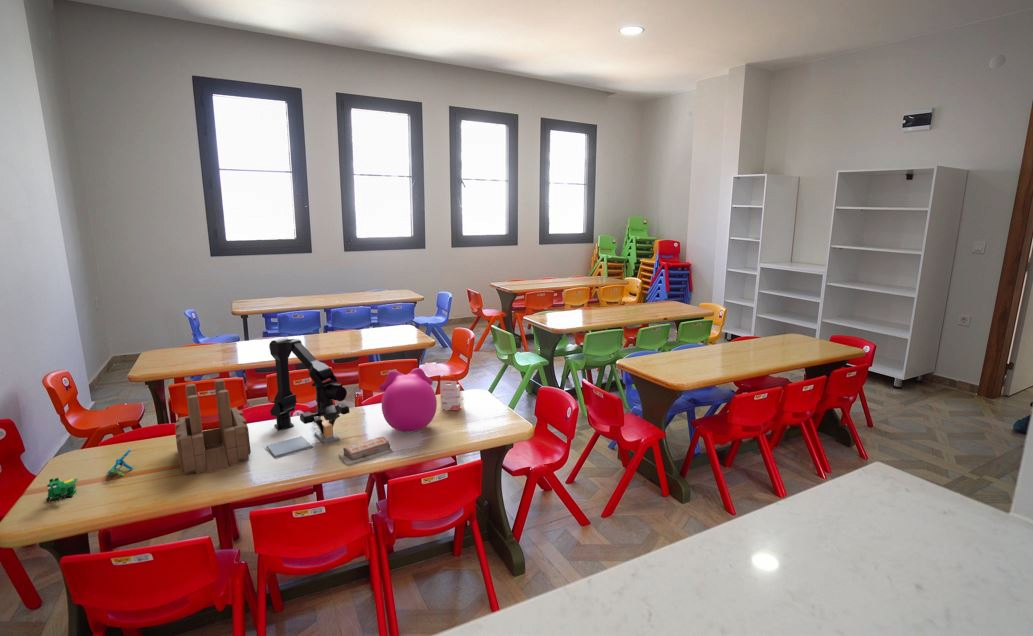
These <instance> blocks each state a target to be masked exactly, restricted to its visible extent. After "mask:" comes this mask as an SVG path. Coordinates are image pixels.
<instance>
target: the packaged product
mask: <svg viewBox="0 0 1033 636" xmlns="http://www.w3.org/2000/svg"><path fill="white" fill-rule="evenodd" d="M342 449H343V450H342V452H339V453H338V456H340V457H339V458H340V459H341V460H342V461H343V462H344V463H345V465H348V466H351V465H354V464H357V463H360V461H361V462H364V461H367V459H368V460H370V459H373V458H377V457H381V456H384V455H386V454H391V453H393V451H394V450H393V449H392V448H391V444H390V442H389V440H388V439H386V437H384V436H379V437H376V438H373V439H369V440H365V441H362V442H361V441H360V442H358V443H354V444H351V445H346V446H344V447H343V448H342ZM363 460H364V461H363ZM356 462H357V463H356Z"/></svg>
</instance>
